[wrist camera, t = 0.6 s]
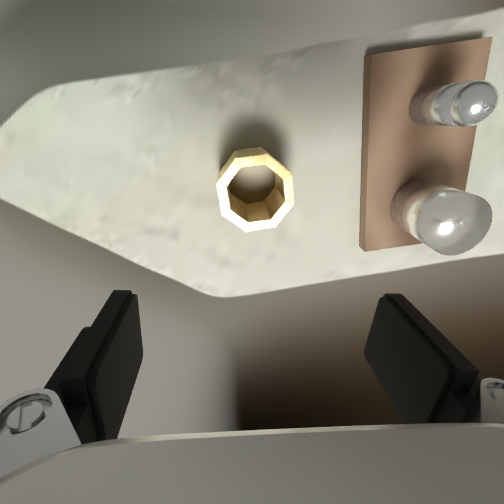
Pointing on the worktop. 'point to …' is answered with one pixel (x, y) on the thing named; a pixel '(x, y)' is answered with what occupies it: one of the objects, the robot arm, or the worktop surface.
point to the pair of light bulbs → (438, 195)
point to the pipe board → (411, 131)
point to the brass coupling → (257, 212)
